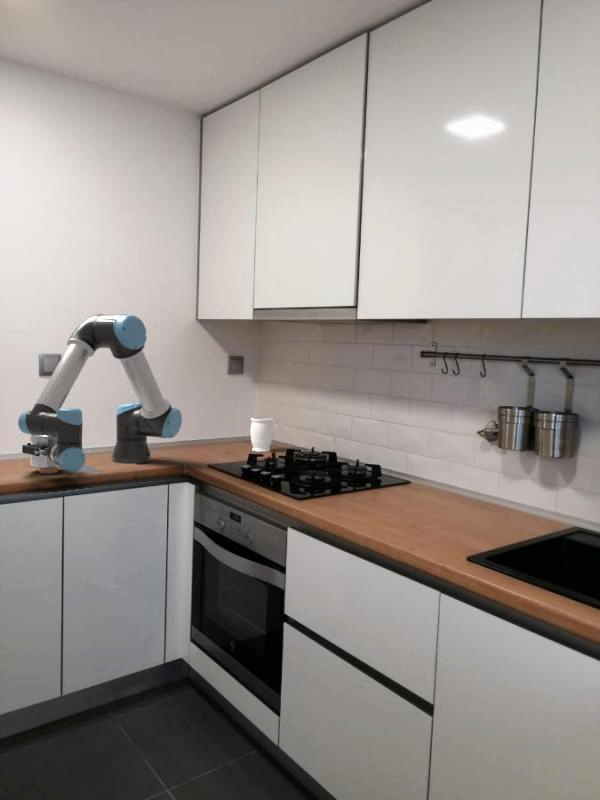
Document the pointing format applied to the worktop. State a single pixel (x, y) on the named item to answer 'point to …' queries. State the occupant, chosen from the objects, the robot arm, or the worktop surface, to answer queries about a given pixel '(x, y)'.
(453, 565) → the worktop surface
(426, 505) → the worktop surface
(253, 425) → the jar
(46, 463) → the faceted metal canister
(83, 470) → the mat
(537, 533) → the worktop surface
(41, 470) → the beige low rounded block
